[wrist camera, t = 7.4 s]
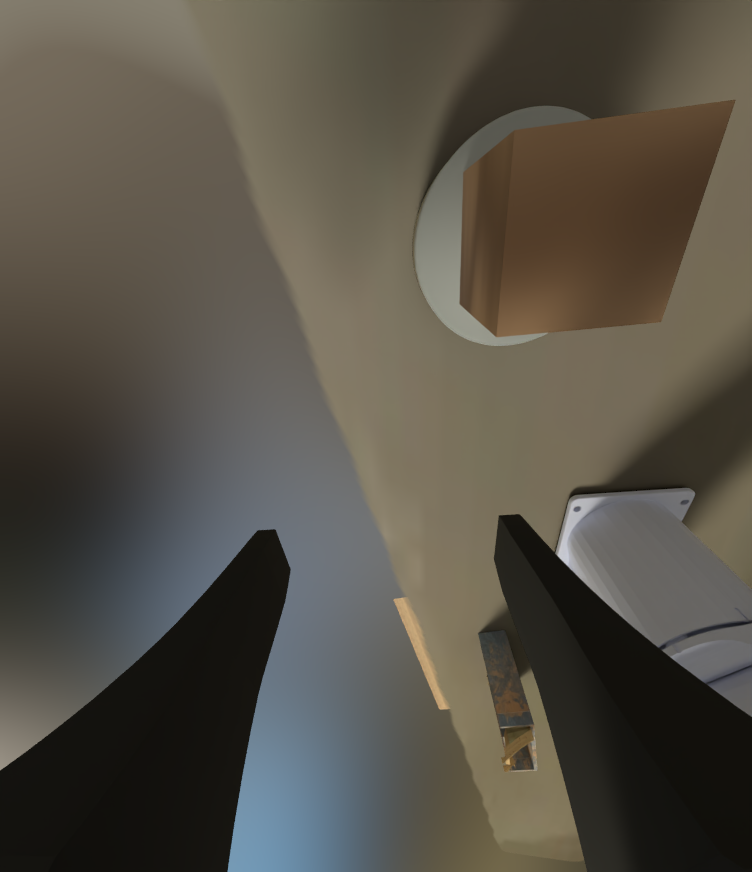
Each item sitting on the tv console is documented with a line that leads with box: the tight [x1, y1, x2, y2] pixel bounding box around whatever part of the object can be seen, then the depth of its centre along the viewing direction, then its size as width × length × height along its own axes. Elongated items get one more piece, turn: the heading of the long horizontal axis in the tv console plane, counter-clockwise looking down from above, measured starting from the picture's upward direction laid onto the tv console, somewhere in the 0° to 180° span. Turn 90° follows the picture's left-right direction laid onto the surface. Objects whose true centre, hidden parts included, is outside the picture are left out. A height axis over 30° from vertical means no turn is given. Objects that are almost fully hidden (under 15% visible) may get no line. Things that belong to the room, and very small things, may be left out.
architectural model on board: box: [394, 597, 537, 772], centre depth 31 cm, size 11×3×10 cm, turn 16°
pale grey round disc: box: [412, 106, 591, 346], centre depth 14 cm, size 8×8×3 cm
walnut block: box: [459, 100, 735, 337], centre depth 11 cm, size 4×4×6 cm
